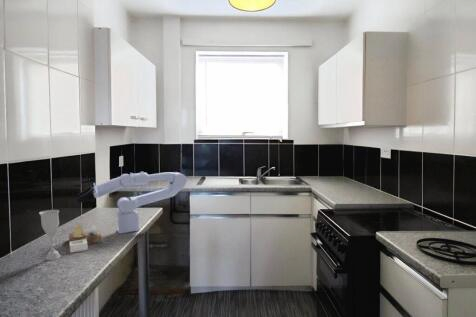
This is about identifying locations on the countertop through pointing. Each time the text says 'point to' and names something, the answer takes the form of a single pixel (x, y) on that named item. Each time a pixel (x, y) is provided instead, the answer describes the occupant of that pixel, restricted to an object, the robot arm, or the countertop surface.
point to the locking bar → (94, 230)
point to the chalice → (50, 229)
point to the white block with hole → (78, 245)
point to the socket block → (87, 237)
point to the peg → (79, 232)
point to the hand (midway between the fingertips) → (77, 198)
